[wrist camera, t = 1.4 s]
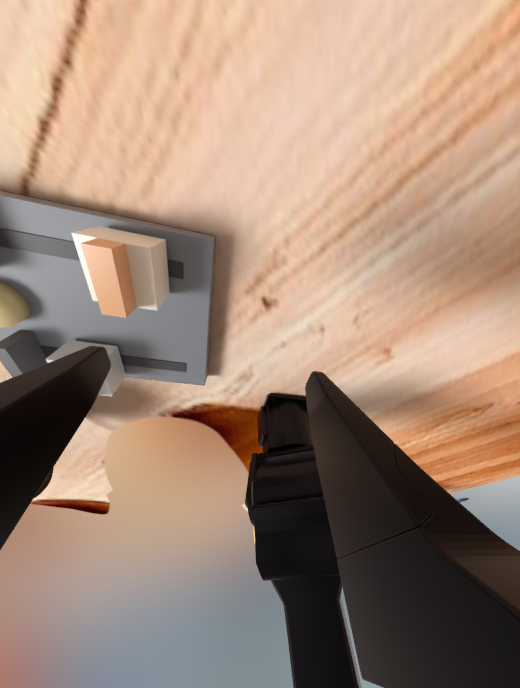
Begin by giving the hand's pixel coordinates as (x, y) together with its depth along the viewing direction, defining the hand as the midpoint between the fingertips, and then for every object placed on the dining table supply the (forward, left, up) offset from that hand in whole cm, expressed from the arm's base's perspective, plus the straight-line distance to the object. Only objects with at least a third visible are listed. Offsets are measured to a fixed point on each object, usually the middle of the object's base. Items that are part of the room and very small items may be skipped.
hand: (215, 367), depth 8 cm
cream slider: (+7, 0, -9) cm, 11 cm away
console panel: (+11, +5, -11) cm, 16 cm away
